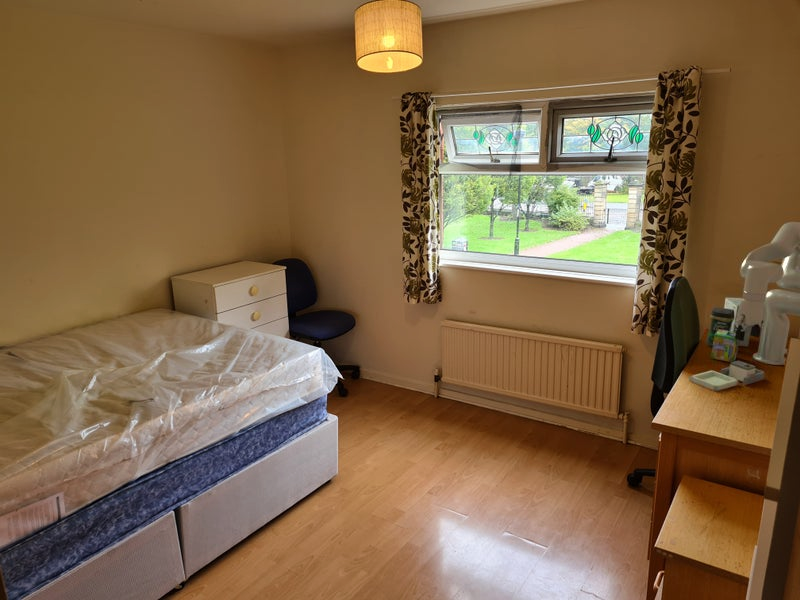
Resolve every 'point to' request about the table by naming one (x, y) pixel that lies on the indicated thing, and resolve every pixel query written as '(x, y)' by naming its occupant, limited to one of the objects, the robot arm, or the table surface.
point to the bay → (749, 379)
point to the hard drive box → (734, 304)
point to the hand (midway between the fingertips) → (747, 338)
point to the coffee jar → (719, 322)
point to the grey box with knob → (741, 370)
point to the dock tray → (714, 380)
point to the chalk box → (725, 346)
